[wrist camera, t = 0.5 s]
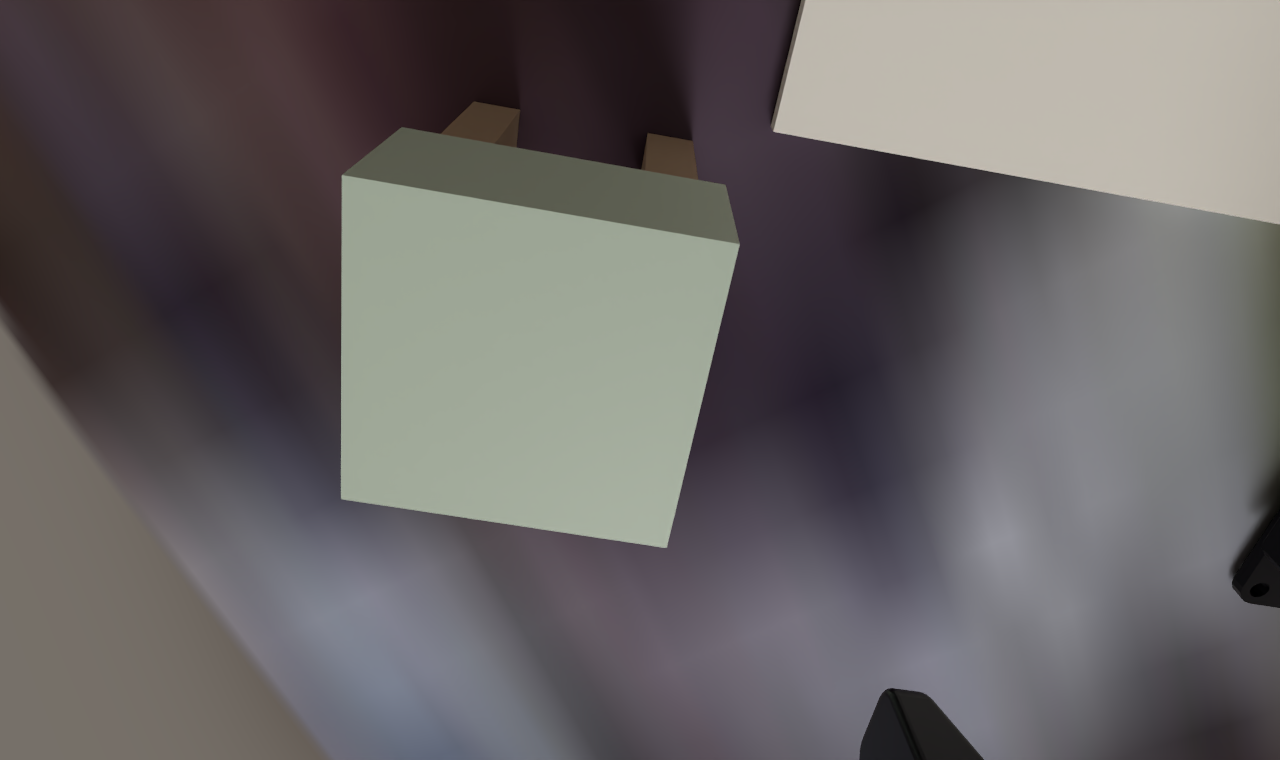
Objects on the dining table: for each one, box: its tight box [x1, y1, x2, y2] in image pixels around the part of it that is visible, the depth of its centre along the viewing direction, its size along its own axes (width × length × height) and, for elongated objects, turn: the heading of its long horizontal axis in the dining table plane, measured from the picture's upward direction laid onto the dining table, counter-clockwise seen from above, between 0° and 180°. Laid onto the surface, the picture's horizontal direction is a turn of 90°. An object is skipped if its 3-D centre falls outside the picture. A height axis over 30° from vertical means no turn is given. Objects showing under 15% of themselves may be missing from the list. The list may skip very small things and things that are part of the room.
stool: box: [341, 102, 740, 548], centre depth 16 cm, size 6×6×8 cm
